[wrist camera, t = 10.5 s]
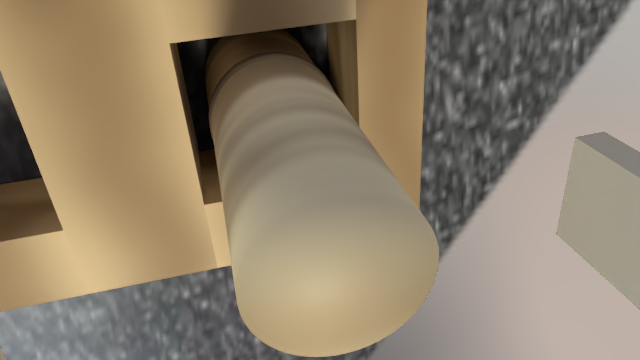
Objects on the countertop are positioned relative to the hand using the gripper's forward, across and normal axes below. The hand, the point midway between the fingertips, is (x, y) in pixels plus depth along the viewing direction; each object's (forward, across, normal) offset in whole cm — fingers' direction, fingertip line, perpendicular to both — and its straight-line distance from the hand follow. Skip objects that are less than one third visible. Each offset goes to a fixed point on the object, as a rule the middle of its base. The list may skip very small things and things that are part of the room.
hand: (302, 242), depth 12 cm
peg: (+10, +1, 0) cm, 10 cm away
